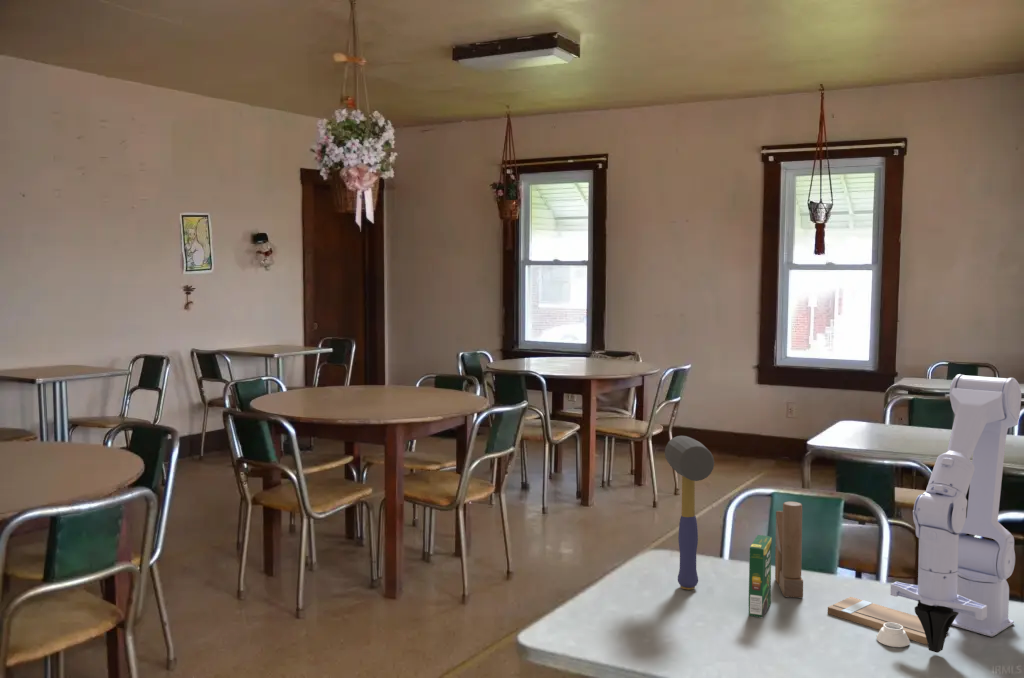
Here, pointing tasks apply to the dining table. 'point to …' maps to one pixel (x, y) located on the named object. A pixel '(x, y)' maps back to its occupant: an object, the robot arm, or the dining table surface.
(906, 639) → the lidless jar
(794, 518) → the wooden block
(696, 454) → the rubber mallet
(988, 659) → the dining table surface
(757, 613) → the coffee box
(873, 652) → the dining table surface
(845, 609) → the board
